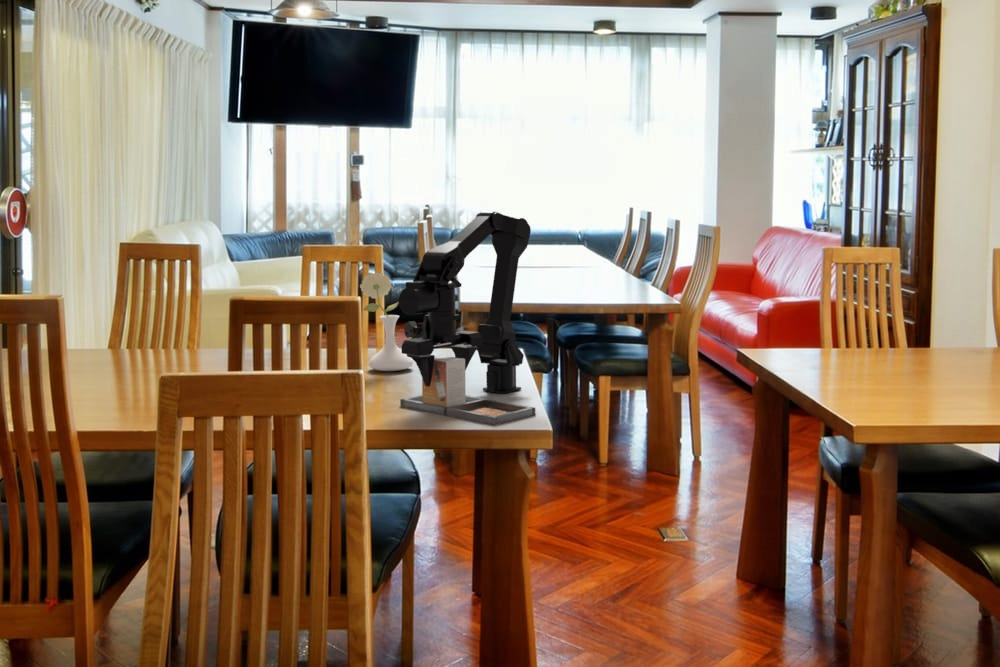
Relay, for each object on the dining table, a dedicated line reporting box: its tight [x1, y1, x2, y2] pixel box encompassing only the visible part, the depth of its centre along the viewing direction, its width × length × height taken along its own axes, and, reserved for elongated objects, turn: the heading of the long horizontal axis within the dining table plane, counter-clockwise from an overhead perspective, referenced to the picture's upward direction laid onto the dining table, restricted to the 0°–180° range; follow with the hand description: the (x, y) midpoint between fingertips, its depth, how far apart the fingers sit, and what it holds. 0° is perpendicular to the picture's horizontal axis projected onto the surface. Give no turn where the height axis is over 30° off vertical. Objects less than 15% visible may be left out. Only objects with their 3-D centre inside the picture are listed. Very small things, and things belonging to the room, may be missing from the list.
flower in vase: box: [359, 271, 414, 372], centre depth 274 cm, size 13×11×25 cm
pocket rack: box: [399, 394, 536, 426], centre depth 226 cm, size 12×28×2 cm, turn 46°
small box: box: [421, 354, 466, 407], centre depth 230 cm, size 8×6×10 cm
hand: (443, 382), depth 230 cm, fingers open, 9 cm apart
